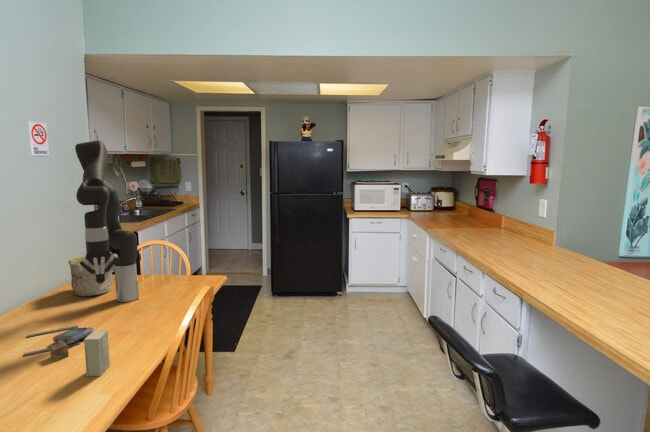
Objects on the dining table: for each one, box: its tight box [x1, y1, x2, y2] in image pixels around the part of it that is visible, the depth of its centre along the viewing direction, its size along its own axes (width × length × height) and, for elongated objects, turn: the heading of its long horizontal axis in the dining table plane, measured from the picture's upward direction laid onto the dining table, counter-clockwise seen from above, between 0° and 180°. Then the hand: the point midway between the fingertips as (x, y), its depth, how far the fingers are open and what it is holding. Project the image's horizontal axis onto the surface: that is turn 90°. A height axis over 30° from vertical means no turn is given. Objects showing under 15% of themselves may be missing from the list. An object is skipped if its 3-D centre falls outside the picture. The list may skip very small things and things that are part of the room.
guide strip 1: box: [26, 325, 79, 338], centre depth 148 cm, size 16×2×1 cm, turn 125°
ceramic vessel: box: [67, 251, 119, 297], centre depth 193 cm, size 23×24×25 cm
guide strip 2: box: [23, 340, 81, 357], centre depth 134 cm, size 16×2×1 cm, turn 125°
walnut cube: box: [49, 342, 70, 362], centre depth 129 cm, size 4×4×4 cm
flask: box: [52, 327, 94, 344], centre depth 140 cm, size 9×3×11 cm
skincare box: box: [83, 330, 111, 377], centre depth 119 cm, size 6×4×12 cm
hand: (100, 283), depth 148 cm, fingers closed
